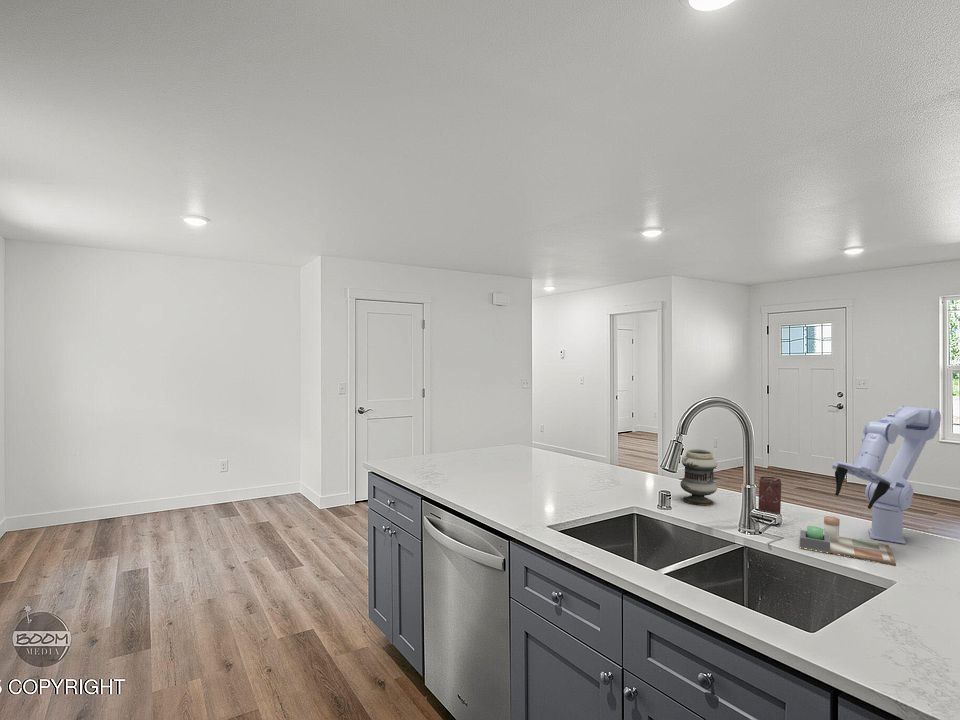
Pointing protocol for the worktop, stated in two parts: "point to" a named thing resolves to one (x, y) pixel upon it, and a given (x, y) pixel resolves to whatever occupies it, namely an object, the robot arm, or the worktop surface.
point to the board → (861, 550)
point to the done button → (815, 532)
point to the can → (770, 494)
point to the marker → (831, 527)
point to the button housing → (815, 542)
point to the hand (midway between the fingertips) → (853, 500)
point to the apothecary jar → (699, 476)
